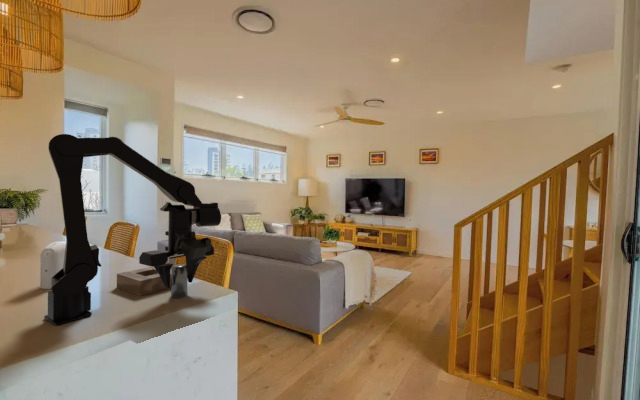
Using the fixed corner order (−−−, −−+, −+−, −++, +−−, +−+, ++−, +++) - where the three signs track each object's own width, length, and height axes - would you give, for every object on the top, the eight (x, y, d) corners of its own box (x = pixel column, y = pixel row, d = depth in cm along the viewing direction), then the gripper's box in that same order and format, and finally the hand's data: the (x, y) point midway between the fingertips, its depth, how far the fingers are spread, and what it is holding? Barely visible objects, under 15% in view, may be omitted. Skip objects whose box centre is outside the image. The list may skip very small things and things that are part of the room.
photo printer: (56, 288, 84) (56, 244, 84) (37, 290, 83) (37, 245, 83) (74, 278, 94) (74, 239, 94) (57, 279, 93) (57, 239, 93)
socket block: (140, 295, 81) (140, 281, 81) (116, 287, 87) (116, 273, 87) (180, 284, 91) (180, 271, 91) (157, 277, 97) (157, 265, 97)
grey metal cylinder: (177, 299, 79) (177, 269, 79) (167, 296, 81) (168, 266, 81) (190, 295, 83) (190, 266, 83) (181, 292, 85) (181, 263, 85)
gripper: (165, 234, 69) (164, 301, 70) (228, 227, 86) (226, 282, 86) (138, 230, 75) (137, 292, 75) (201, 224, 91) (200, 275, 92)
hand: (179, 285), depth 82 cm, fingers open, 6 cm apart
